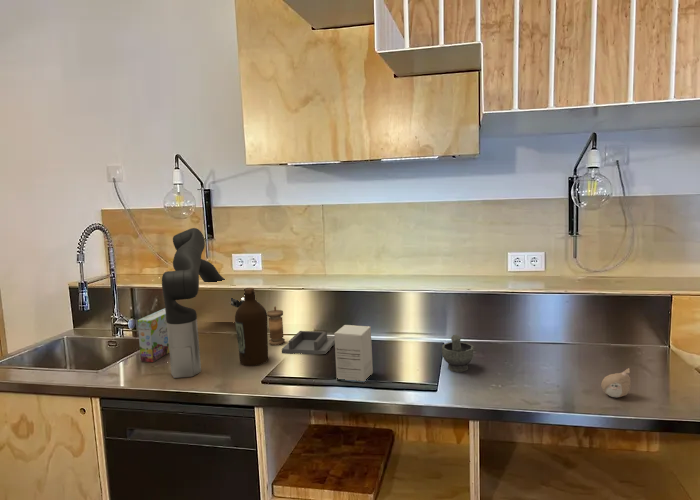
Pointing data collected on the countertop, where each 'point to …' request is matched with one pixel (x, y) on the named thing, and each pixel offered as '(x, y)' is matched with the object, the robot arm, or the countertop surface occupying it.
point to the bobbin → (276, 327)
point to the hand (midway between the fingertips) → (259, 302)
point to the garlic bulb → (617, 384)
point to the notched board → (309, 343)
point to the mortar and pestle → (457, 354)
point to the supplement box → (353, 352)
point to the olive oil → (251, 330)
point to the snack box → (153, 336)
